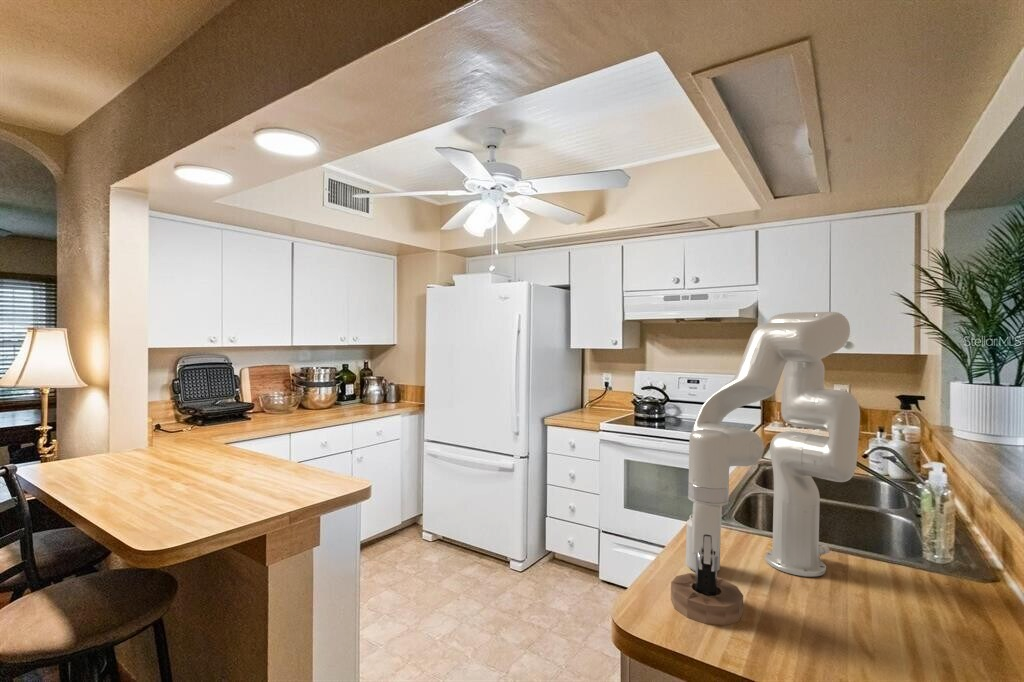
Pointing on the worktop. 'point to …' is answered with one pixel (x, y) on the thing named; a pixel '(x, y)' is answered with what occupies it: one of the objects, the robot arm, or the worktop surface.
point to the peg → (697, 576)
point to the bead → (707, 601)
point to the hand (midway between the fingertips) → (706, 583)
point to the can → (689, 554)
